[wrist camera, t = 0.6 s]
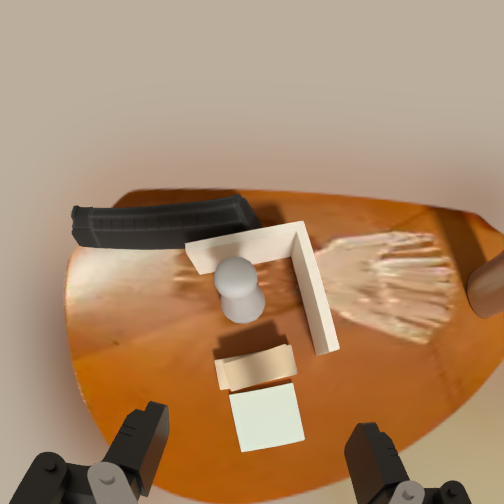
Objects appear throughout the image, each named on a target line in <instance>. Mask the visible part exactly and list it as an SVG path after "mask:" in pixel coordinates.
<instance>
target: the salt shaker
mask: <svg viewBox="0 0 504 504" xmlns="http://www.w3.org/2000/svg"><path fill="white" fill-rule="evenodd" d="M257 281H258V279H257V272H256V270H255V268H254V267H253V265H252V264H251V262H250V261H248V260H246V259H244V258H243V257H234V256H233V257H230V258H227V259H224V260H223V261H222V262H221V263H220V264H219V265H218V266H217V268H216V271H215V273H214V282H215V287H216V288H217V290H218V291H219V293H220V294H221V309H222V311H223V312H224V314H225V315H226V317H227V318H229V319H230V320H232V321H233V322H235V323H248V322H251V321H254V320H256V319H257V318H258V317H259V316H260V314H261V313H262V312H263V309H264V306H265V298H264V293H263V292H262V290H261V289H260V288H259V286H258V285H257Z"/></svg>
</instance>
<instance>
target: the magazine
mask: <svg viewBox="0 0 504 504" xmlns="http://www.w3.org/2000/svg"><path fill="white" fill-rule="evenodd" d="M71 217H72V220H73V225H72V227H73V230H72V235H73V237H74V238H75V240H76V241H77V243H78V244H79V246H82V247H93V248H111V249H139V250H155V249H184V248H185V243H190V242H195V241H200V240H205V239H210V238H215V237H220V236H225V235H230V234H235V233H240V232H245V231H250V230H255V229H261V228H262V226H261V222H260V221H259V219H258V218H257V216H256V214H255V213H254V211H253V210H252V208H251V206H250V205H249V203H248V202H247V200H246V199H245V198H242V197H241V195H240V194H236V195H235V196H230V197H225V198H220V199H214V200H207V201H199V202H190V203H179V204H169V205H159V206H147V207H127V208H93V207H87V208H86V207H79V206H74V207H73V210H72V211H71Z"/></svg>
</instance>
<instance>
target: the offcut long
mask: <svg viewBox="0 0 504 504" xmlns="http://www.w3.org/2000/svg"><path fill="white" fill-rule="evenodd" d="M287 349H288V352H289V355H290V357H291V360H292V363H293V366H294V368H295V371H294V372H292V373H289V374H286V375H283V376H280V377H277V378H274V379H271V380H275V379H279V378H283V377H288V376H292V375H296V374H298V373H297V369H296V364H295V360H294V356H293V352H292V348H291V345H287ZM265 351H266V350H265ZM261 352H263V351H261ZM257 353H260V352H256V353H251V354H246V355H241V356H236V357H231V358H225V359H220V360H214V361H215V366H216V371H217V376H218V381H219V386H220V390H223V389H229V388H230V386H229V383H228V380H227V377H226V374H225V371H224V368H223V365H222V364H224V363H228V362H231V361H235V360H238V359H241V358H244V357H248V356H251V355H254V354H257ZM268 381H270V380H268ZM265 382H266V381H265Z"/></svg>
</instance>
